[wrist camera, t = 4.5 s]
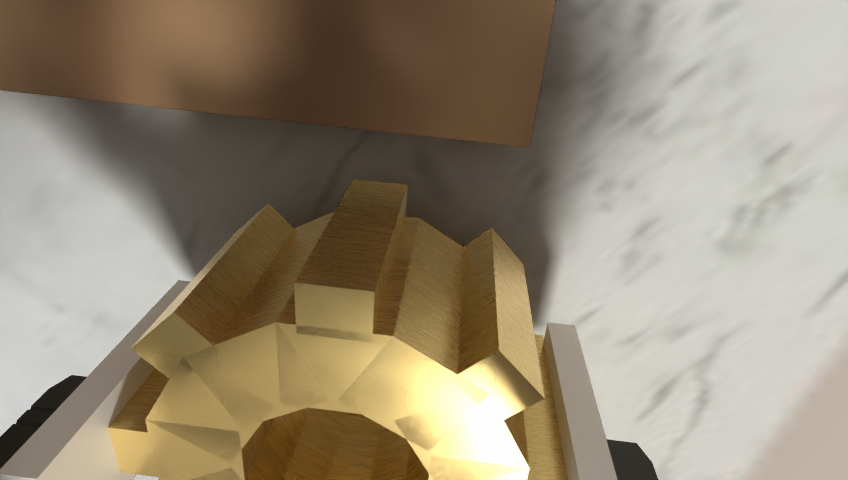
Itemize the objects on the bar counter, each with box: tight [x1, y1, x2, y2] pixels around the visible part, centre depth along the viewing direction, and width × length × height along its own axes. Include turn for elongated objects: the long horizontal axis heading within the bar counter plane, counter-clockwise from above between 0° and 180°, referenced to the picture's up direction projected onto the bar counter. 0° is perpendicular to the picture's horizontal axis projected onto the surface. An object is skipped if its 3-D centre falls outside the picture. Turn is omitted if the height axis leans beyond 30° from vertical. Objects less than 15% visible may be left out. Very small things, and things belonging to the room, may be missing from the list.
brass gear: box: [108, 179, 568, 480], centre depth 14 cm, size 10×10×5 cm
